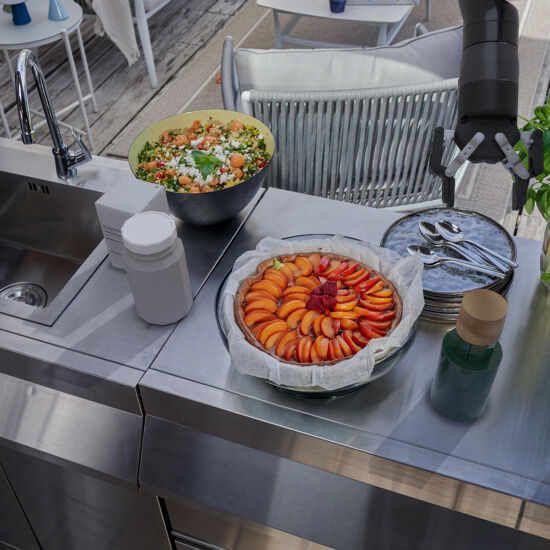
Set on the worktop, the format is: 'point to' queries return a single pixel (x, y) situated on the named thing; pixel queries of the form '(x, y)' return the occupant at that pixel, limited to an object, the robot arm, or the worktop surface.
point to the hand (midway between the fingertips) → (483, 208)
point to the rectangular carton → (127, 210)
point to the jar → (156, 268)
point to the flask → (464, 377)
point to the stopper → (481, 317)
